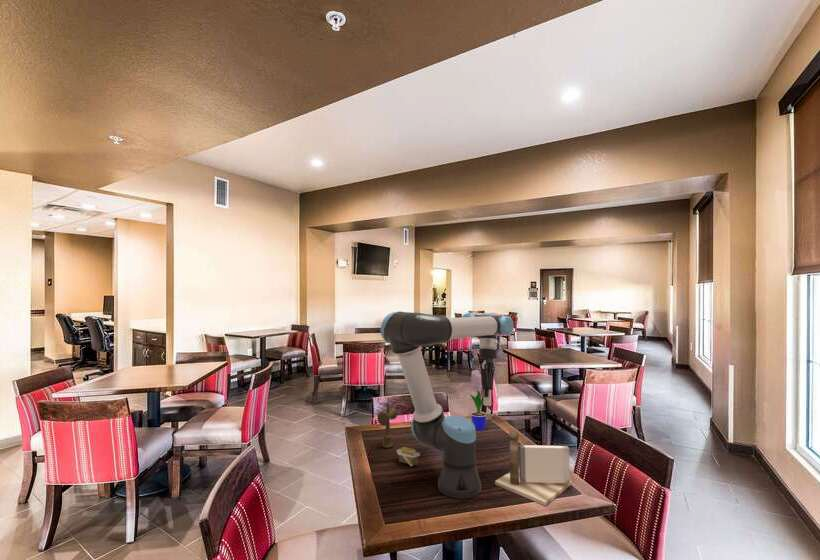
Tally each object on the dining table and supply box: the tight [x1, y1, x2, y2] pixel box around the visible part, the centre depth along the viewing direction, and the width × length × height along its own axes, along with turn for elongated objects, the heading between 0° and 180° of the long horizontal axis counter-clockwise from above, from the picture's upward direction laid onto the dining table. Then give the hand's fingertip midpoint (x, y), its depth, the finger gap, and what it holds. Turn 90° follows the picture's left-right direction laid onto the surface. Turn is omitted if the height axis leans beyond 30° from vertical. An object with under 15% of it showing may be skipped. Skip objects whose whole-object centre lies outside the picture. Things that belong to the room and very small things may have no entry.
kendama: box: [376, 401, 398, 449], centre depth 166 cm, size 6×10×20 cm, turn 156°
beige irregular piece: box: [396, 446, 421, 467], centre depth 148 cm, size 12×18×7 cm, turn 65°
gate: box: [518, 444, 571, 483], centre depth 130 cm, size 17×2×12 cm, turn 87°
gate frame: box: [494, 430, 573, 507], centre depth 132 cm, size 20×19×19 cm
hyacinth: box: [469, 369, 487, 431], centre depth 190 cm, size 9×10×30 cm
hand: (487, 405), depth 154 cm, fingers closed
